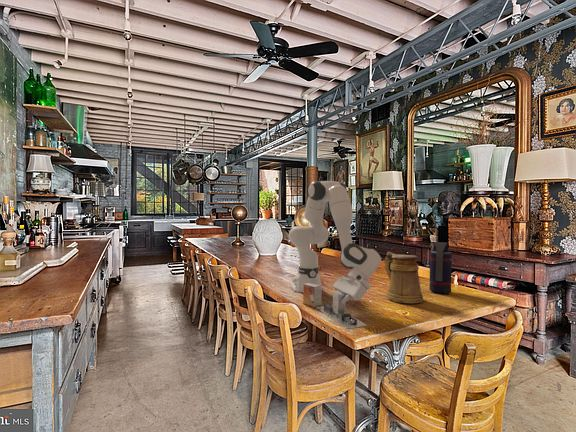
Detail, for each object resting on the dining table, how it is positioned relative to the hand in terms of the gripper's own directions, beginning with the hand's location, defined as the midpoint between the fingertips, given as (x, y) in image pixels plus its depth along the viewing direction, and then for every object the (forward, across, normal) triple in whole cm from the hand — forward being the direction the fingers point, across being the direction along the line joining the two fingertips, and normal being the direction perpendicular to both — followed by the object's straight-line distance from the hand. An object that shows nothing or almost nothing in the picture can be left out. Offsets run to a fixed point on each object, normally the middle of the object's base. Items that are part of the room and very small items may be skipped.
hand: (338, 301), depth 153 cm
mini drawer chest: (+3, 0, +4) cm, 5 cm away
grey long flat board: (+5, 0, +6) cm, 7 cm away
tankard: (-28, -14, +39) cm, 50 cm away
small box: (+8, -21, +3) cm, 22 cm away
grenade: (-50, -17, +61) cm, 81 cm away
